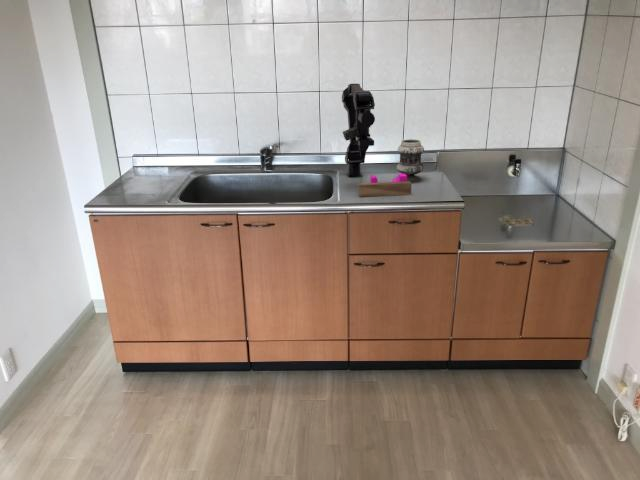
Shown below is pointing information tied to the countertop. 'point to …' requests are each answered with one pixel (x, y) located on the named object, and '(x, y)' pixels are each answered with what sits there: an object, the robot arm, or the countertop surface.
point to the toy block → (400, 178)
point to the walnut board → (384, 189)
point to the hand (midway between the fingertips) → (362, 157)
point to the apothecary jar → (410, 159)
